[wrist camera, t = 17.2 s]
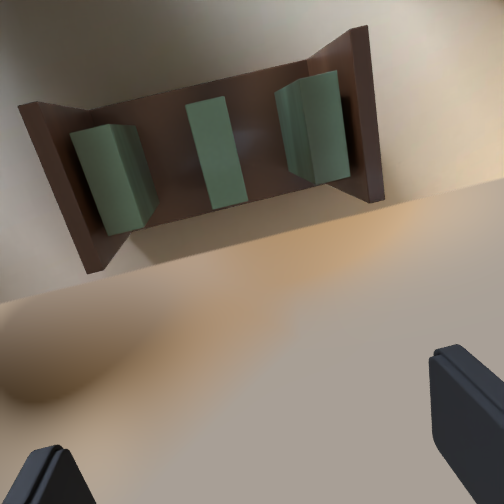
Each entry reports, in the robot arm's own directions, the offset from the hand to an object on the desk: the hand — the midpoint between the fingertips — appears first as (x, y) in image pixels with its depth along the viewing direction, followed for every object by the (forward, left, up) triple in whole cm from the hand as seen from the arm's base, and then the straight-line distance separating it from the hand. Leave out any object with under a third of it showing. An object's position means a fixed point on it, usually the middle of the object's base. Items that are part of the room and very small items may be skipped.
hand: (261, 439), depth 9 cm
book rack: (+5, -3, -28) cm, 29 cm away
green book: (+5, -3, -27) cm, 28 cm away
